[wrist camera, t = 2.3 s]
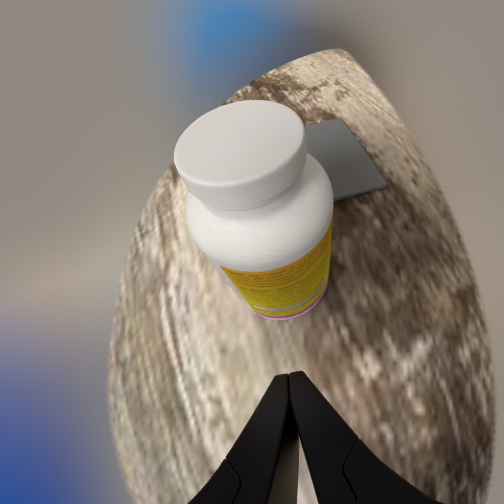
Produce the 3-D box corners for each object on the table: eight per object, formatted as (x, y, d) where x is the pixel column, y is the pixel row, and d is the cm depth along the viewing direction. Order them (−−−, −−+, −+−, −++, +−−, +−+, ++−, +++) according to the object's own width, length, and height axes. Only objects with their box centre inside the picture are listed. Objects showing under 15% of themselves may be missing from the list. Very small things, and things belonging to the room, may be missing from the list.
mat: (386, 187, 22) (387, 184, 21) (242, 228, 23) (240, 226, 22) (340, 121, 26) (340, 118, 26) (223, 151, 27) (222, 149, 27)
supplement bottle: (347, 277, 19) (376, 129, 8) (278, 341, 18) (213, 261, 7) (284, 221, 22) (249, 74, 11) (220, 276, 21) (125, 154, 10)
